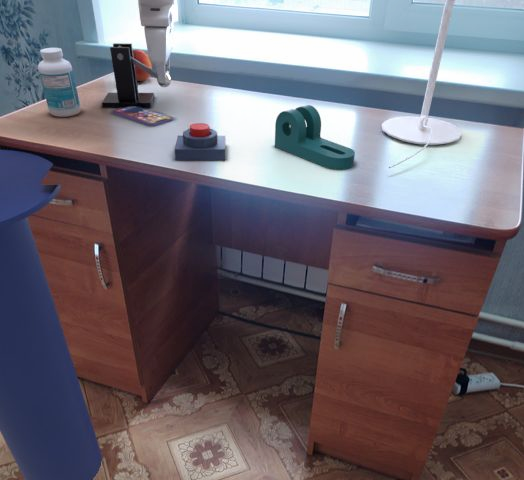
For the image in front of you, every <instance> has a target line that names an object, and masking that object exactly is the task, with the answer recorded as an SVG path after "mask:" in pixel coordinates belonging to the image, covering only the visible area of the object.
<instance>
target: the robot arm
mask: <svg viewBox="0 0 524 480" xmlns="http://www.w3.org/2000/svg"><path fill="white" fill-rule="evenodd" d="M137 5H138V14H139V20H140V26H141V27H144V28H143V30H144V37H145V43H146V50H147V55H148V57H149V59H150V62H151V64H152V66H155V70H156V72H157V74H158V81H159V83H165V82H166V74H165V72H166V73H167V74H170V71H171V68H170V59H171V58H170V57H171V53H172V51H173V48H174V47H173V46H174V41H173V30H174V23H177V22H178V21H179V12H178V11H179V10H178V0H137Z"/></svg>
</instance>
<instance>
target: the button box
mask: <svg viewBox="0 0 524 480" xmlns="http://www.w3.org/2000/svg"><path fill="white" fill-rule="evenodd" d="M174 158H175V161H226V135H218V131H217V130H215V129H213V128H210V135H209V136H206V137H193V136H191V135H190V128H187V129H186V130H184V131H183V132H182V135H177V138H176V141H175V146H174Z"/></svg>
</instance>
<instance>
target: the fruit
mask: <svg viewBox="0 0 524 480" xmlns="http://www.w3.org/2000/svg"><path fill="white" fill-rule="evenodd" d="M132 50H133V57H134V59H136V60H138V61H139V62H141V63H142V64H144V65H146V66H147V67H149V68H151V69H152V70H153V68H152V67H153V65H152V64H151V62H150V59H149V55H148V53H146V52H145V51H142V50H141V49H132ZM135 72H136V80H137V82H145V81H147V80H149V78H150V77H151V75H150V74H149V73H147V72H146V71H144V70H142V69H141V68H139V67H137V66H136V65H135Z"/></svg>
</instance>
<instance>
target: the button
mask: <svg viewBox="0 0 524 480" xmlns="http://www.w3.org/2000/svg"><path fill="white" fill-rule="evenodd" d="M189 129H190V135H191V136H193V137H206V136H209V135H210V129H211V125H210V124H208V123H204V122H196V123H192V124H190V125H189Z"/></svg>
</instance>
